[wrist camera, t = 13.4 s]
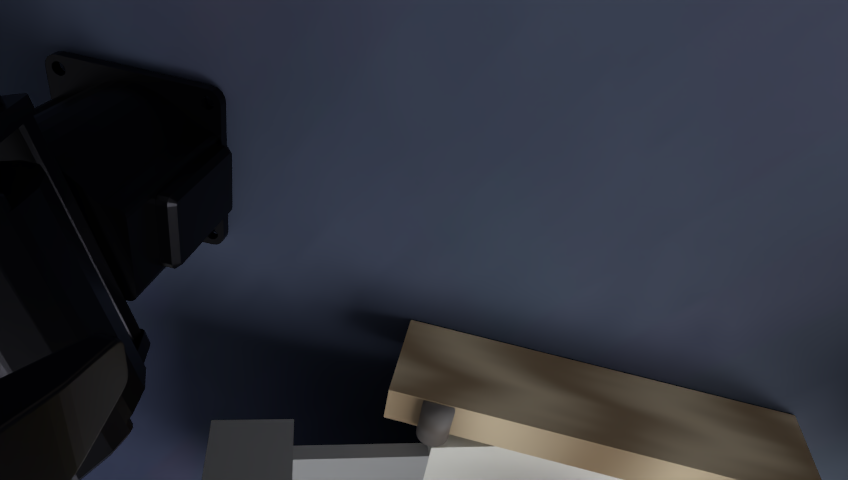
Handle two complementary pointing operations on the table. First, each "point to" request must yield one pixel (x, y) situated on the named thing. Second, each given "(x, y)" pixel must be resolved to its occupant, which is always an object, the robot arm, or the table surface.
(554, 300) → the table surface
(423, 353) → the tan framed slab
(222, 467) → the trapdoor
